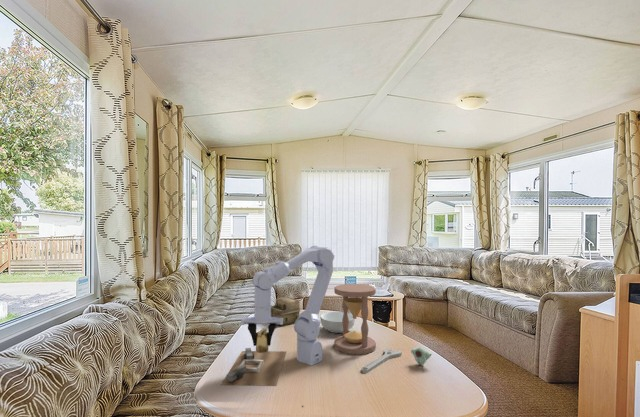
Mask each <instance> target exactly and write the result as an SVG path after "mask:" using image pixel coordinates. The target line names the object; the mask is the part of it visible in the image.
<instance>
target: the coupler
mask: <svg viewBox="0 0 640 417" xmlns="http://www.w3.org/2000/svg"><path fill="white" fill-rule="evenodd" d="M267 330H268V329H267V328H266V327H263V328H261V329H260V330H259V331H256V346H255V351H256V352H258V353H265V352H267V351H269V347H270V346H268V337H269V335H268V331H267Z"/></svg>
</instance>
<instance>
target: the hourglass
mask: <svg viewBox="0 0 640 417" xmlns="http://www.w3.org/2000/svg"><path fill="white" fill-rule="evenodd" d="M333 289H334V290H333V291H334V294H336V295H337V296H339V297H340V296H341V297H342V302H341V303H342V306H341V307H342V310H343V311H342V312H344V315H343V319H342V324H343V333H342V335H340V336H338V337H336V338H335V339H334V341H333V342H334V348H335V350H337V351H339V352H340V353H343V354H348V355H366V354H370V353H373V351H375V350H376V347H377V344H376V343H377V342H376V341H375V339H373V338H372V337H369V336H368V335H369V325H368V317H369V307H368V297H372V296H374V295H375V294H376V293H377V289H376V288H375V287H374V286H373V285H372V286H371V285H369V284H362V283H344V284H343V283H342V284H339V285H336V286H335V287H334V288H333ZM347 313H351V314H352V315H353V319H355V320H356V319H357V316H358V314H359V313H360V314H361V315H360V316H361V318H362V323H361V327H360V332H359V331H357V330H353V331H350V332H349V330H348V326H349V318H348V314H347Z"/></svg>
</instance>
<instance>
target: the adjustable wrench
mask: <svg viewBox="0 0 640 417" xmlns="http://www.w3.org/2000/svg"><path fill="white" fill-rule="evenodd" d="M382 353H383V355H381V356H379V357H377V358H376V359H373V360H372V361H370V362H369V363H367V364H366V365H364V366H362V367H361V368H360V372H361V373H363V374H369V372H371V371H372V370H374V369H376V368H377V367H379V366H380V365H382V364H383V363H385V362H386V361H388V360H390V359H393V358H398V357H401V356H402V354H403V353H402V349H398V350H396V351H393V350H392V348H391V347H389V348H387V349H384V350H383V351H382Z"/></svg>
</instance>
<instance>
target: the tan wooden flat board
mask: <svg viewBox="0 0 640 417" xmlns="http://www.w3.org/2000/svg"><path fill="white" fill-rule="evenodd" d="M286 356H287V351H281V350H280V351H279V350H278V351H275V350H271V351H269V350H268V351H267V352H265V353H258V352H256V350H252V347H245V350H241V352H240V354H239V355H238V357H237V359H236V360H235V361H234V363H233V365H232V366H231V368H230V370H229V371H228V372H227V374H226V376H225V377H224V378H223V381H222V382H221V384H220V386H243V387H244V386H253V387H255V386H256V387H257V386H258V387H277V386H278V382H279V378H280V375H281V373H282V372H281V371H282V369H283V365H284V362H285V359H286Z"/></svg>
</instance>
